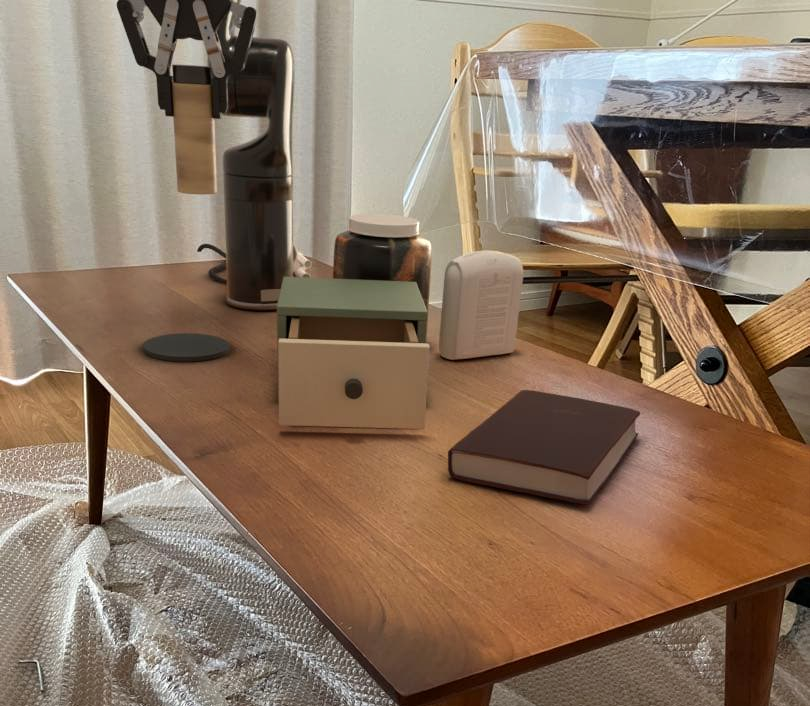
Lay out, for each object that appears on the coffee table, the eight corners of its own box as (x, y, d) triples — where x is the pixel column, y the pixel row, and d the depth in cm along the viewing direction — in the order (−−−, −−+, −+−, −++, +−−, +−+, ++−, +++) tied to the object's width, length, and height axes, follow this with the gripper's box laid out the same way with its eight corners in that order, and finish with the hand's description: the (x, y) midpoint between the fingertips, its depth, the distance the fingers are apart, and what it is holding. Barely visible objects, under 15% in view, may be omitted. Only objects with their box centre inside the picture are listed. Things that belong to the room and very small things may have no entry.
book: (443, 478, 78) (446, 443, 77) (517, 413, 94) (521, 383, 93) (585, 512, 74) (592, 475, 72) (638, 438, 90) (644, 407, 88)
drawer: (425, 434, 85) (431, 350, 81) (278, 430, 84) (277, 345, 80) (413, 387, 97) (418, 312, 93) (285, 383, 96) (284, 307, 92)
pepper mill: (180, 188, 99) (173, 64, 94) (219, 190, 100) (215, 66, 94) (174, 193, 96) (167, 64, 90) (215, 195, 96) (210, 67, 90)
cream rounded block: (498, 345, 117) (508, 245, 111) (519, 354, 114) (531, 252, 108) (432, 354, 112) (439, 250, 106) (453, 363, 109) (461, 256, 103)
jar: (332, 356, 109) (335, 224, 102) (330, 330, 119) (332, 209, 112) (430, 359, 110) (440, 229, 103) (420, 333, 120) (428, 213, 113)
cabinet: (421, 406, 95) (427, 311, 90) (277, 402, 93) (276, 306, 89) (411, 366, 107) (416, 281, 102) (284, 362, 105) (283, 276, 101)
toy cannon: (278, 276, 155) (300, 253, 154) (297, 295, 143) (321, 270, 143) (244, 241, 150) (267, 218, 150) (261, 258, 139) (286, 233, 138)
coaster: (151, 336, 112) (150, 331, 112) (233, 339, 113) (233, 334, 113) (135, 360, 103) (135, 355, 103) (225, 363, 104) (225, 358, 104)
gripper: (262, -72, 90) (265, 118, 98) (114, -83, 89) (130, 111, 97) (257, -82, 84) (261, 123, 92) (97, -93, 82) (115, 115, 90)
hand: (193, 116), depth 94 cm, fingers closed on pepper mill, 4 cm apart
